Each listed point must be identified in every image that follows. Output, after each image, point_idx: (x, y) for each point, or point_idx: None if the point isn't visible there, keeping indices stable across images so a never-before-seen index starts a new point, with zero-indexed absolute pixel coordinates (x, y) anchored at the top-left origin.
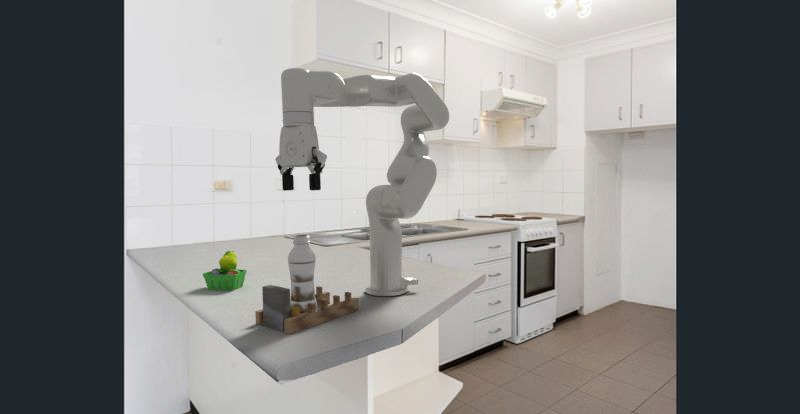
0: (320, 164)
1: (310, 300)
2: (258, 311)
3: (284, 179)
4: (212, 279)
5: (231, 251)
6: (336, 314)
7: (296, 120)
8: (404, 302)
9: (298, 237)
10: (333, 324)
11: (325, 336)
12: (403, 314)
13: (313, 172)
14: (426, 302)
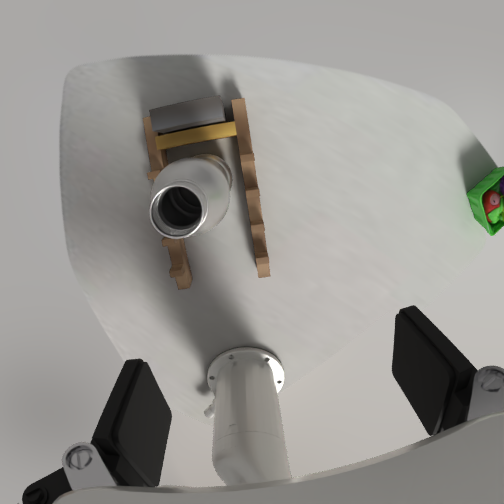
0: (24, 495)
1: (177, 186)
2: (236, 100)
3: (432, 353)
4: (500, 172)
5: None
6: None
7: None
8: (169, 353)
9: (160, 189)
10: (141, 201)
11: (103, 160)
12: (117, 311)
13: (82, 453)
14: None
